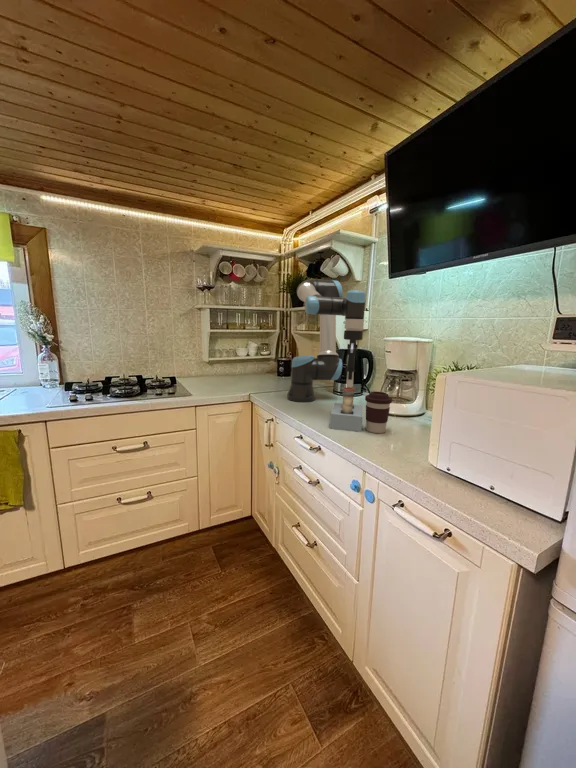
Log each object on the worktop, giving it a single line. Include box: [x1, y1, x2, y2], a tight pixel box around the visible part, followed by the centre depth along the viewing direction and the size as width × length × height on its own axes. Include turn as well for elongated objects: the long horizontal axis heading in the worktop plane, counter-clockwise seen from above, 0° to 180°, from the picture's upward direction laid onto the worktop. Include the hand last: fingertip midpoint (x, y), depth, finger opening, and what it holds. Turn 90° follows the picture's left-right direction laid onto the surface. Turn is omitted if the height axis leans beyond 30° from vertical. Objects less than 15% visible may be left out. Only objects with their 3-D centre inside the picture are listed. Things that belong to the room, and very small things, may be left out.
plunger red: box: [343, 387, 356, 409], centre depth 135 cm, size 5×5×9 cm
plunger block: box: [329, 402, 363, 433], centre depth 132 cm, size 18×12×6 cm, turn 167°
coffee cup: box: [364, 391, 393, 434], centre depth 124 cm, size 10×10×15 cm
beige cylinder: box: [341, 391, 355, 414], centre depth 127 cm, size 5×5×9 cm
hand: (349, 386), depth 134 cm, fingers closed
